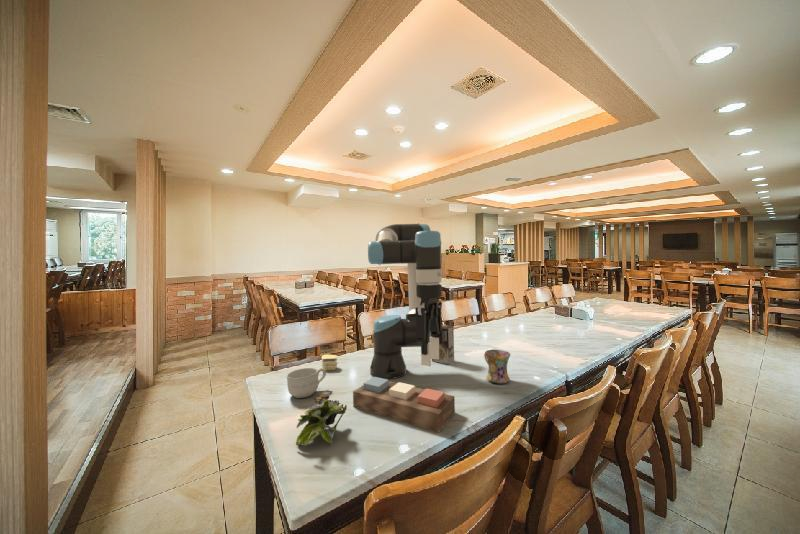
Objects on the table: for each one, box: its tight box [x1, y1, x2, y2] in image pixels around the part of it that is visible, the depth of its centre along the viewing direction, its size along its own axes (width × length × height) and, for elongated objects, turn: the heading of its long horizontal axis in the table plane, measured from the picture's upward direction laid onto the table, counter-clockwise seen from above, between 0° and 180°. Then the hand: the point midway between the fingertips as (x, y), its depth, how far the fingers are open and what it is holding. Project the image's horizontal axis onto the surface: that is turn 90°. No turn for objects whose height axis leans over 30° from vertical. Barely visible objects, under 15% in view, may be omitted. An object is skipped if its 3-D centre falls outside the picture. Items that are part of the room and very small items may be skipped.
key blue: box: [362, 376, 390, 393], centre depth 100 cm, size 6×6×4 cm
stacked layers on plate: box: [321, 353, 338, 371], centre depth 132 cm, size 10×9×6 cm
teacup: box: [286, 367, 327, 399], centre depth 108 cm, size 14×11×8 cm
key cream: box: [389, 381, 416, 400], centre depth 94 cm, size 6×6×4 cm
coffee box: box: [431, 324, 455, 365], centre depth 138 cm, size 9×6×16 cm
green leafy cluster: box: [295, 395, 348, 447], centre depth 80 cm, size 13×12×14 cm
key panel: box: [352, 381, 456, 433], centre depth 94 cm, size 30×12×5 cm, turn 59°
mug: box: [483, 349, 511, 384], centre depth 116 cm, size 12×9×11 cm
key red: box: [418, 387, 446, 408], centre depth 89 cm, size 6×6×4 cm
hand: (430, 361), depth 89 cm, fingers open, 5 cm apart
